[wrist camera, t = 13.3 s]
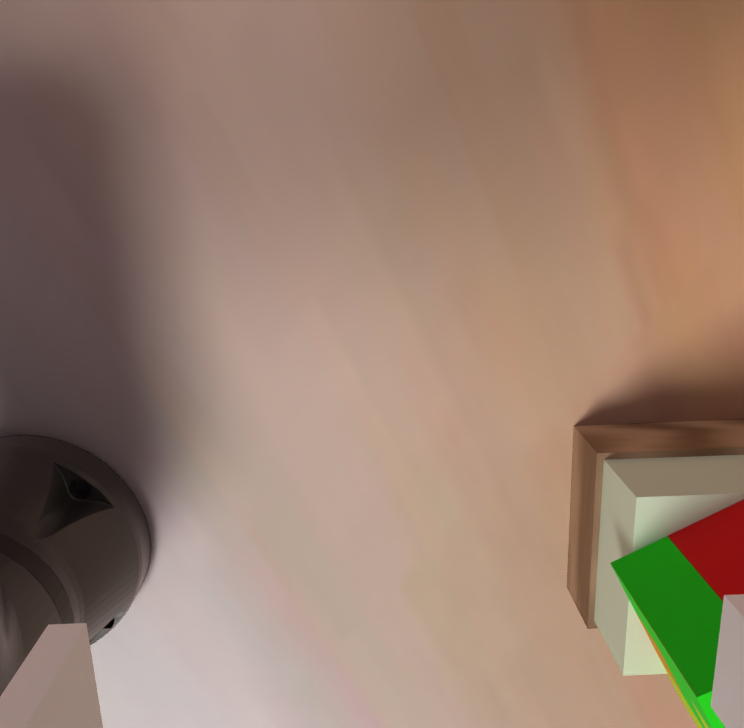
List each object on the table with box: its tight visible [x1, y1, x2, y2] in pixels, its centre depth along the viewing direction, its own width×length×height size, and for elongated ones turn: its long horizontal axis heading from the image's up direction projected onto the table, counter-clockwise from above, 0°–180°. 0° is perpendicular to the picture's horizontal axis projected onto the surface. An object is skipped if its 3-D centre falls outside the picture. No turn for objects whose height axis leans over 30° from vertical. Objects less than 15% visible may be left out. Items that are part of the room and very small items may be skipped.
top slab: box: [594, 455, 744, 675], centre depth 40 cm, size 11×11×5 cm
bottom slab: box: [567, 419, 744, 629], centre depth 45 cm, size 12×12×5 cm
